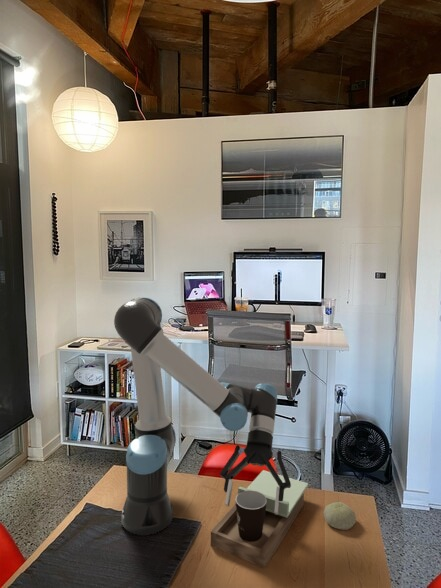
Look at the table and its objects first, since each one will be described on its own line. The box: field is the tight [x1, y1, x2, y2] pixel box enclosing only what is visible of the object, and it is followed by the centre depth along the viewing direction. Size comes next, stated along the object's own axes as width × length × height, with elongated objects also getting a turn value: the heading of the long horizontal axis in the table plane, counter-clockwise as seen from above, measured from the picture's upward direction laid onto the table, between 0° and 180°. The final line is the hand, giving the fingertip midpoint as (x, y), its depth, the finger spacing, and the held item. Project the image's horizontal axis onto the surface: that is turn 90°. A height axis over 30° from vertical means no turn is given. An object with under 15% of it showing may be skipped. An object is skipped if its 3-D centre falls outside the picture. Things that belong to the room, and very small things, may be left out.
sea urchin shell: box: [323, 501, 357, 531], centre depth 123 cm, size 9×8×8 cm
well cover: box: [237, 469, 309, 518], centre depth 130 cm, size 16×19×4 cm
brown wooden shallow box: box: [210, 493, 305, 569], centre depth 122 cm, size 16×30×4 cm, turn 150°
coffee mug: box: [234, 490, 267, 542], centre depth 116 cm, size 12×9×10 cm
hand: (251, 509), depth 114 cm, fingers open, 13 cm apart
